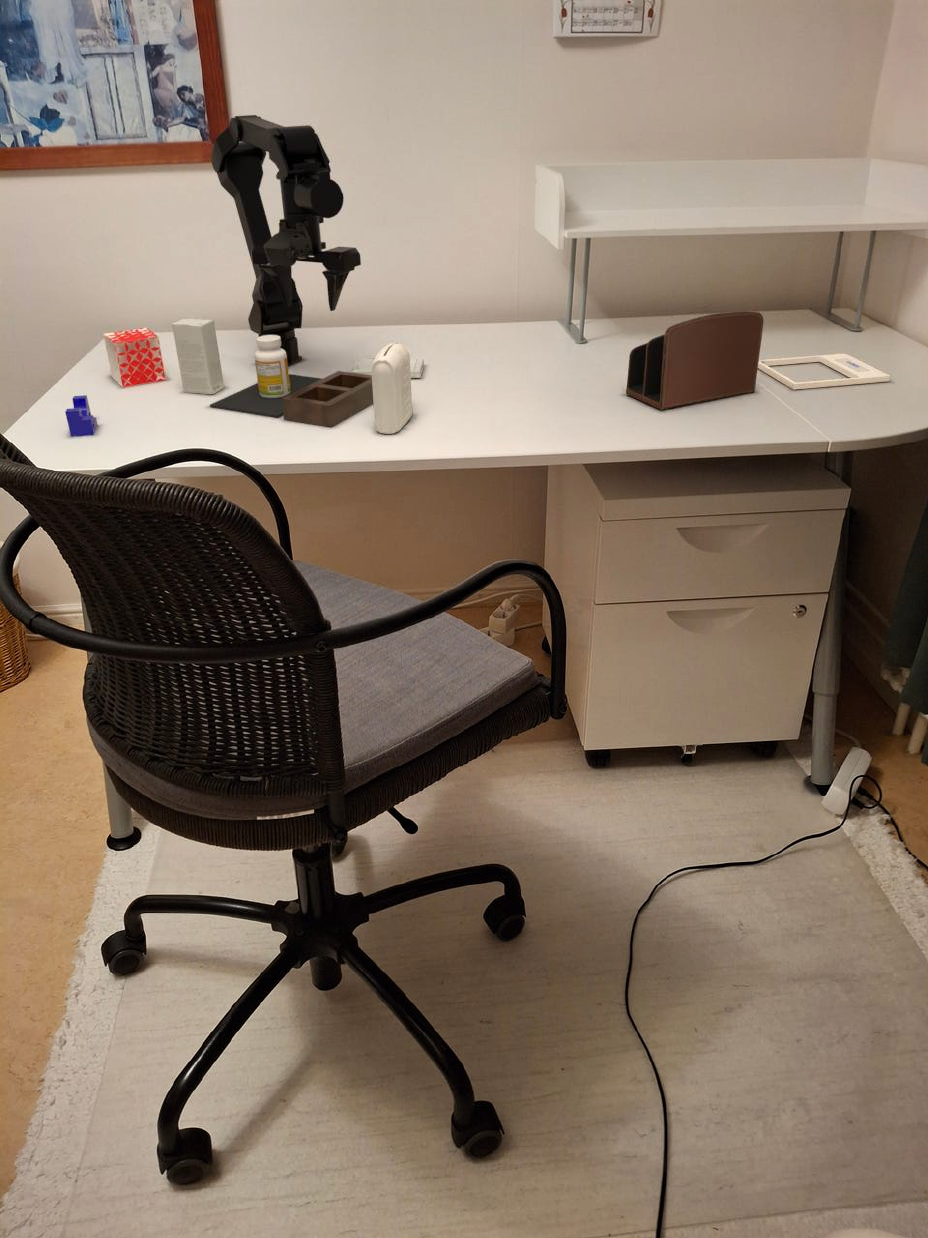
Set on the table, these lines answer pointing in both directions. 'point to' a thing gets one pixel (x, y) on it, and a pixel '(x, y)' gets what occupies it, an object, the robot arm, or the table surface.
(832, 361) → the photo frame
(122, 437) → the table surface
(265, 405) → the desk mat
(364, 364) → the hard drive
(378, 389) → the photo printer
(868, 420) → the table surface
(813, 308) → the table surface
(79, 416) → the cable holder
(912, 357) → the table surface
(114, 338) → the puzzle cube
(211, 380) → the cosmetic box
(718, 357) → the letter holder
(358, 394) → the bottle holder
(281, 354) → the supplement bottle
